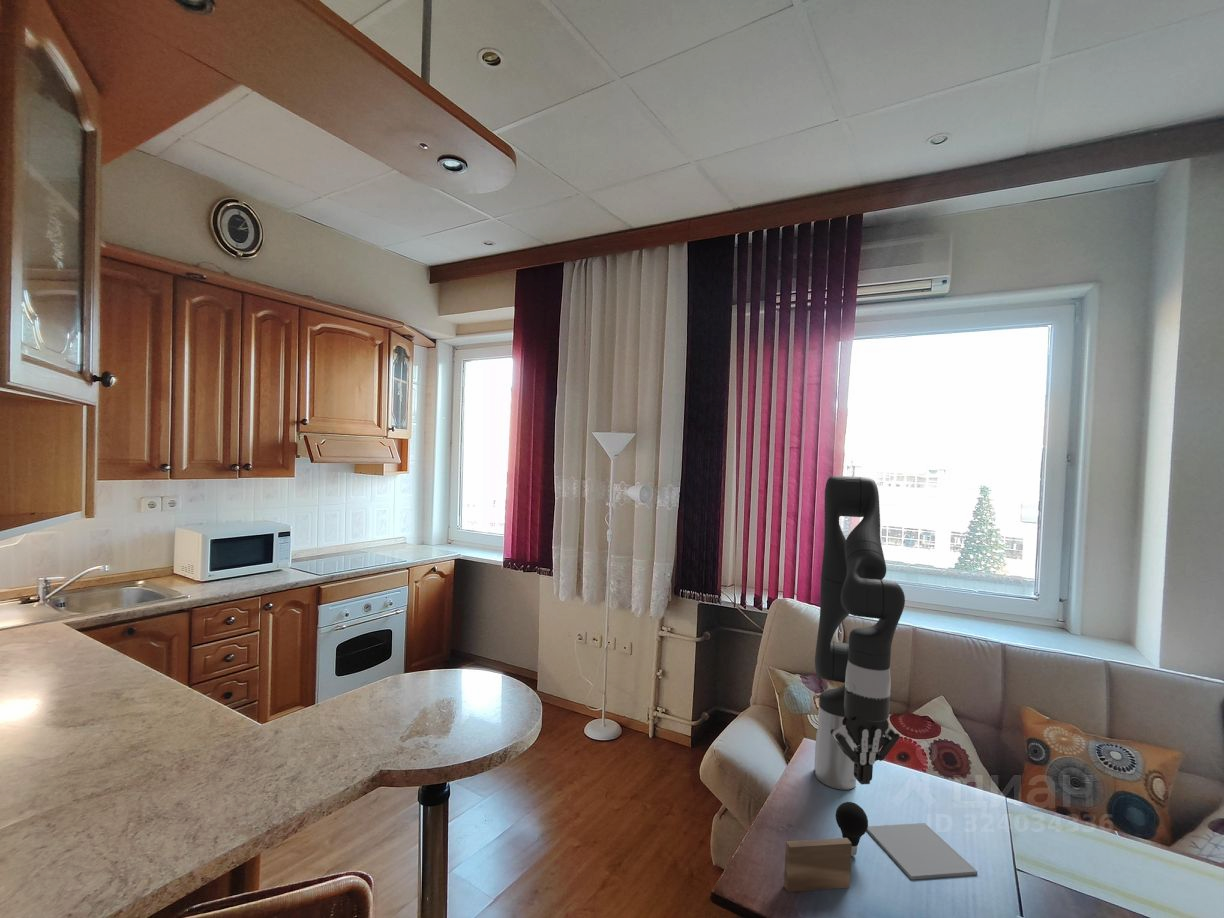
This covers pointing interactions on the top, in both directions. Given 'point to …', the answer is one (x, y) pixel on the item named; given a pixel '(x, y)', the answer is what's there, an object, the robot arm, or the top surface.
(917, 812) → the top surface
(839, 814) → the light bulb
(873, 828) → the rubber mat
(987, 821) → the top surface
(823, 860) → the wooden toy block
